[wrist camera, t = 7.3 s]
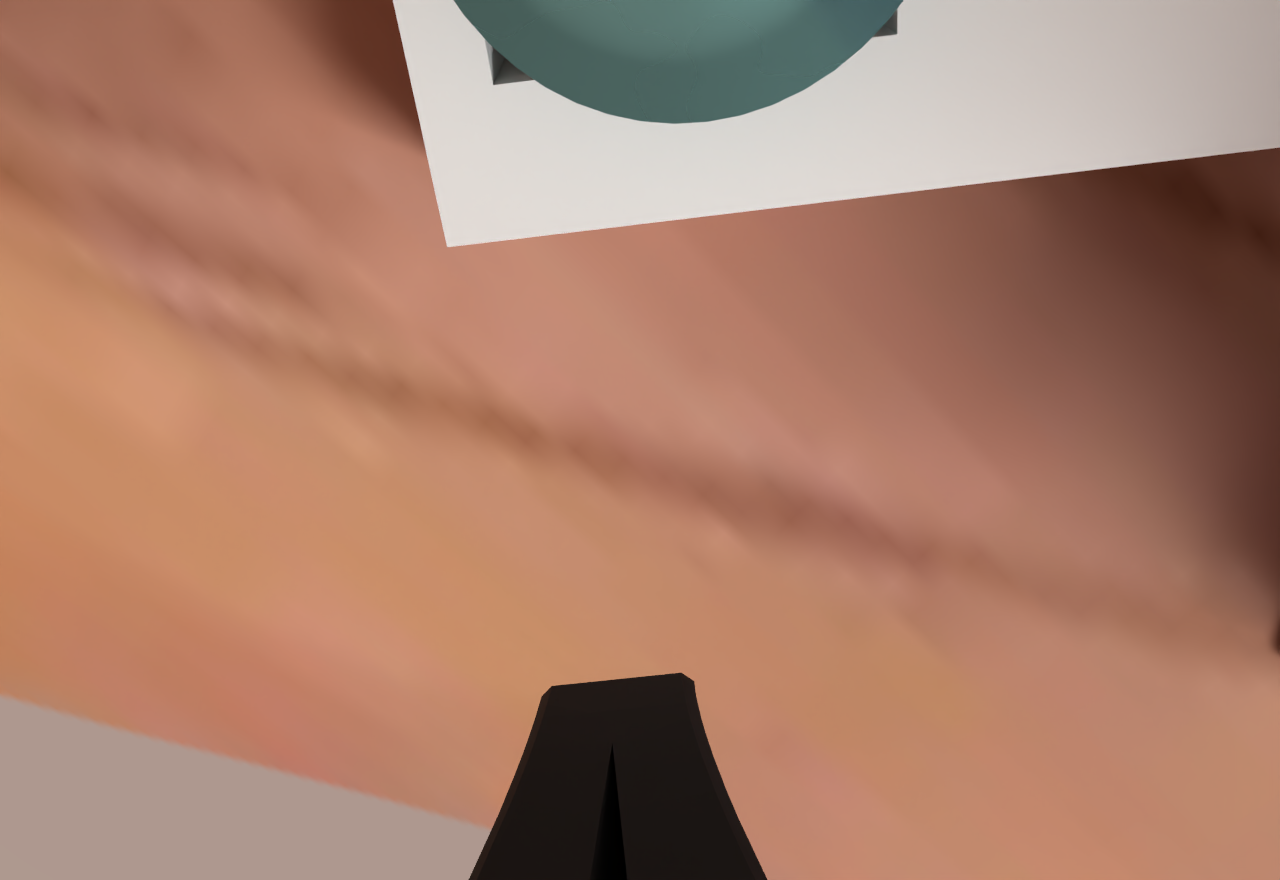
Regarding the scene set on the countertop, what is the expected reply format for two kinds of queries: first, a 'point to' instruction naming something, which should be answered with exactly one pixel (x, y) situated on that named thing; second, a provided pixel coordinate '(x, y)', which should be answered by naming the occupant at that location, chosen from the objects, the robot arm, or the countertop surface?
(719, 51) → the disc
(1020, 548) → the countertop surface
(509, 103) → the instrument base
